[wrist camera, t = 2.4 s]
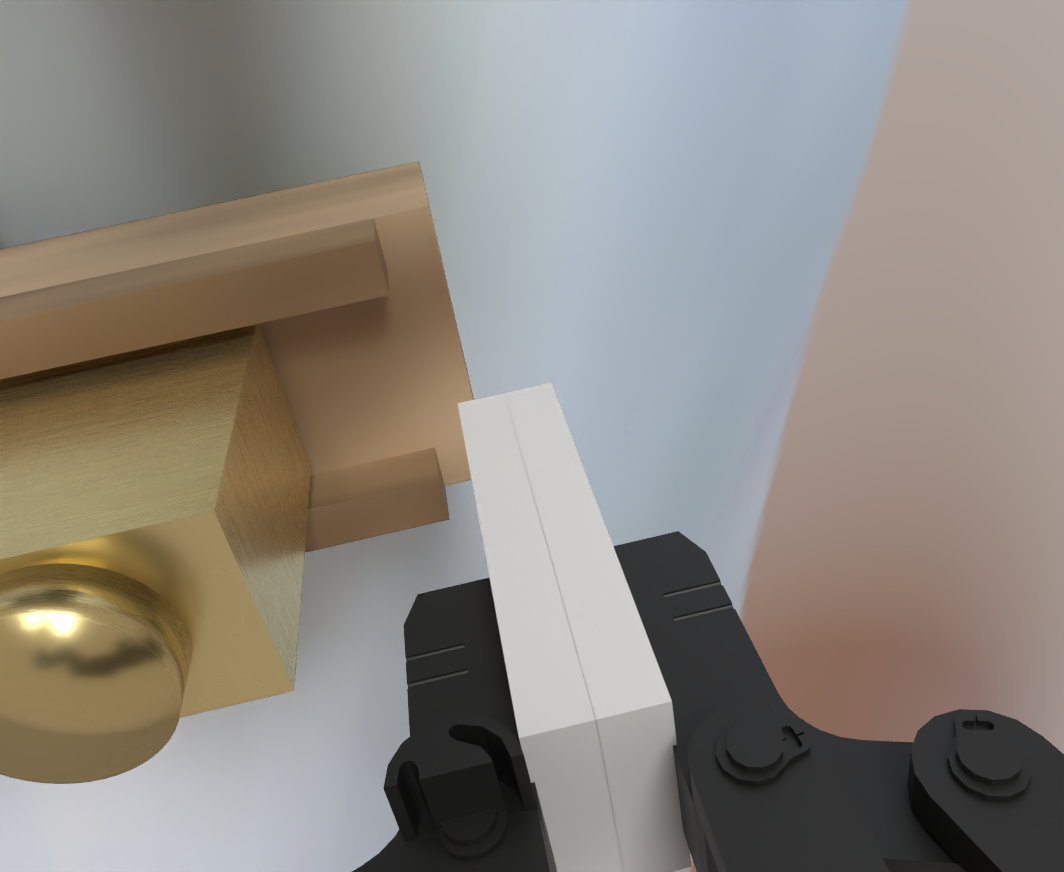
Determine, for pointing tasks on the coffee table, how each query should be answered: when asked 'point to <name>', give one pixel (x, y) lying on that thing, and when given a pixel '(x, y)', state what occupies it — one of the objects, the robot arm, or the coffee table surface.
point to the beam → (282, 328)
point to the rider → (144, 550)
